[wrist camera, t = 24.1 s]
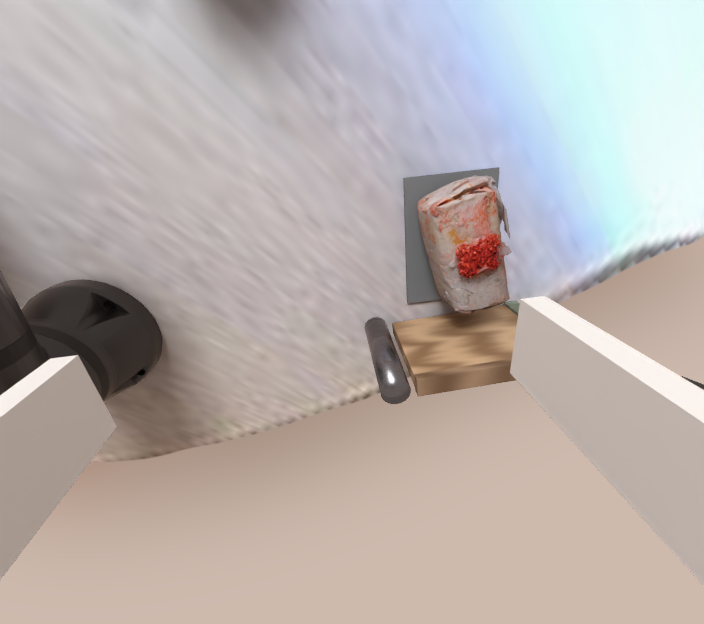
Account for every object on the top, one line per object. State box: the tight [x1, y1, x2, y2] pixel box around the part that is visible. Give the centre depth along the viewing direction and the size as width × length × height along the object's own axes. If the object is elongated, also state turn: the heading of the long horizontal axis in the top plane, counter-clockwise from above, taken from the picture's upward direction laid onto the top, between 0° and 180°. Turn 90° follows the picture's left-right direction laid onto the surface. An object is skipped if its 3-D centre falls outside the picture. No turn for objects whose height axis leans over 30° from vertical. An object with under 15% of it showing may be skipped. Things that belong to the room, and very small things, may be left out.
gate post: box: [365, 317, 411, 404], centre depth 38 cm, size 3×3×14 cm
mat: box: [404, 168, 499, 303], centre depth 40 cm, size 11×16×1 cm
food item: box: [417, 175, 512, 314], centre depth 35 cm, size 14×8×10 cm, turn 20°
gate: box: [392, 301, 520, 396], centre depth 38 cm, size 17×2×13 cm, turn 98°
